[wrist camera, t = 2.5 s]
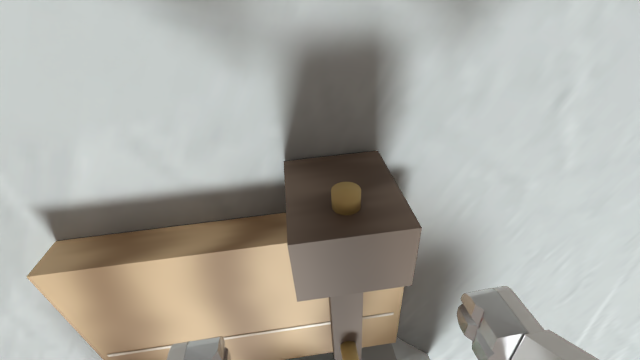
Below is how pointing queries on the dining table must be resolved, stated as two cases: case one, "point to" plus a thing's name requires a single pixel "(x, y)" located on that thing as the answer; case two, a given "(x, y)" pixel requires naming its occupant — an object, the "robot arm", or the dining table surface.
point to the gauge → (347, 237)
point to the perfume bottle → (393, 352)
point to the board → (197, 292)
